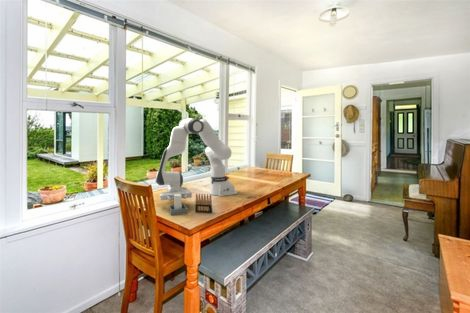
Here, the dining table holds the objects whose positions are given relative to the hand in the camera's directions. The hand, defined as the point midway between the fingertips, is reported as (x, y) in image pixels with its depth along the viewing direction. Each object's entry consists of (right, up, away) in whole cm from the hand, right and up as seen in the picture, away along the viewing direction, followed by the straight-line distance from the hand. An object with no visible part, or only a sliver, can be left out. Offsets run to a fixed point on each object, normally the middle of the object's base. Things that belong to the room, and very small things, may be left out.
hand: (177, 198), depth 159 cm
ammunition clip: (+17, -9, -1) cm, 19 cm away
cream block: (0, -8, 0) cm, 8 cm away
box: (0, -8, 0) cm, 8 cm away
